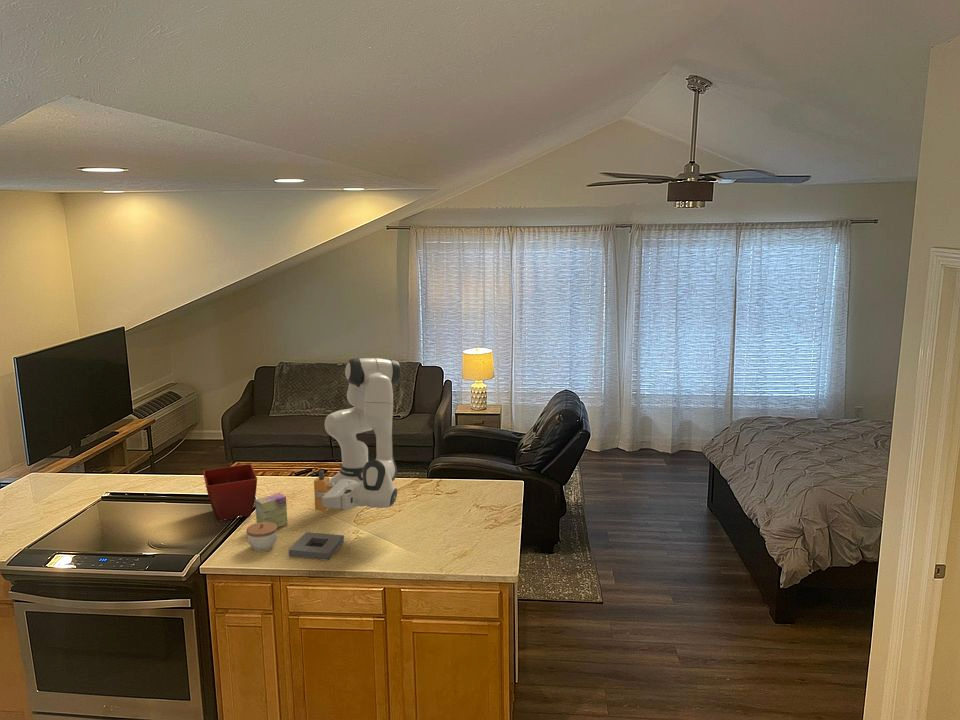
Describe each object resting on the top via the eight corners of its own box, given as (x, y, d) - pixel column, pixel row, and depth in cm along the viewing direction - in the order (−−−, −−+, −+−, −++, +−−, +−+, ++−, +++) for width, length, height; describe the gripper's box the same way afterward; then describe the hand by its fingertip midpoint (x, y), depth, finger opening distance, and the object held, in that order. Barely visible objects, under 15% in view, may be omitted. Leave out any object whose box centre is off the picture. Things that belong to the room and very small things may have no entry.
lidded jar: (278, 552, 264) (277, 527, 262) (247, 556, 261) (245, 531, 259) (277, 539, 274) (276, 516, 272) (247, 543, 271) (246, 519, 269)
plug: (315, 510, 279) (313, 473, 276) (319, 505, 284) (318, 469, 280) (326, 511, 279) (324, 473, 275) (330, 506, 283) (329, 469, 280)
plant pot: (209, 526, 285) (206, 485, 282) (205, 508, 302) (202, 470, 299) (259, 518, 293) (257, 478, 290) (253, 501, 310) (251, 463, 307)
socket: (288, 556, 261) (288, 549, 260) (306, 538, 275) (305, 532, 275) (328, 560, 258) (328, 553, 258) (344, 541, 272) (343, 535, 272)
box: (280, 520, 291) (278, 492, 289) (287, 524, 287) (286, 496, 285) (256, 528, 284) (254, 499, 282) (263, 532, 280) (261, 503, 278)
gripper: (363, 476, 287) (330, 473, 289) (344, 496, 267) (308, 493, 269) (363, 491, 288) (330, 488, 290) (345, 512, 268) (309, 509, 271)
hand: (319, 491), depth 280 cm, fingers closed on plug, 4 cm apart
